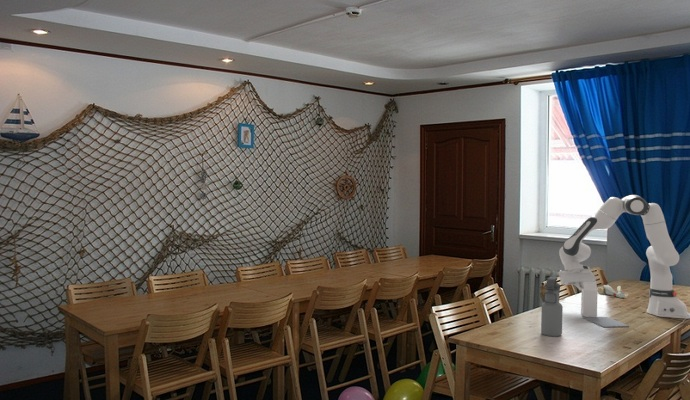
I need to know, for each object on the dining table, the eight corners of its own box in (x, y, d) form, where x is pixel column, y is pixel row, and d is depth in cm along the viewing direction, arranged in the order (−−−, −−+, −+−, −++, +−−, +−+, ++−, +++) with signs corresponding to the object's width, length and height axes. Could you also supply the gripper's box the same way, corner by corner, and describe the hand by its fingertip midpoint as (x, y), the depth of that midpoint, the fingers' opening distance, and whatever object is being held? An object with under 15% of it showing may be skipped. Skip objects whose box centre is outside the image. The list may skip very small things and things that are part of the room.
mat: (583, 318, 330) (583, 317, 330) (606, 317, 332) (606, 316, 332) (603, 327, 310) (603, 326, 310) (628, 326, 312) (628, 325, 312)
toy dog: (622, 299, 384) (622, 285, 384) (593, 294, 398) (594, 281, 398) (630, 296, 393) (631, 283, 392) (602, 292, 407) (602, 279, 406)
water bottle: (559, 338, 289) (560, 280, 288) (538, 335, 294) (539, 278, 293) (563, 333, 298) (565, 277, 297) (543, 330, 303) (544, 275, 302)
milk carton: (596, 317, 333) (597, 283, 332) (583, 316, 334) (584, 282, 333) (594, 314, 340) (595, 281, 339) (581, 313, 341) (581, 280, 340)
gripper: (559, 267, 349) (567, 287, 340) (591, 266, 352) (600, 286, 343) (555, 273, 354) (563, 293, 344) (587, 273, 357) (596, 292, 347)
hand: (582, 289), depth 344 cm, fingers closed
